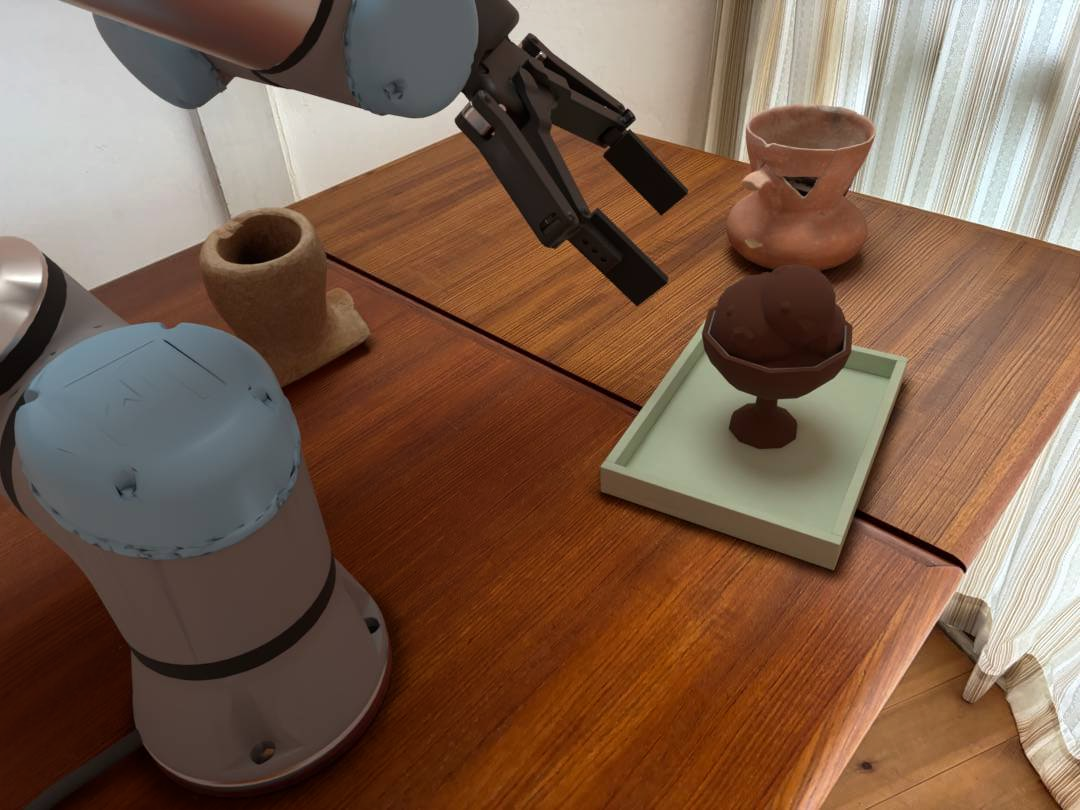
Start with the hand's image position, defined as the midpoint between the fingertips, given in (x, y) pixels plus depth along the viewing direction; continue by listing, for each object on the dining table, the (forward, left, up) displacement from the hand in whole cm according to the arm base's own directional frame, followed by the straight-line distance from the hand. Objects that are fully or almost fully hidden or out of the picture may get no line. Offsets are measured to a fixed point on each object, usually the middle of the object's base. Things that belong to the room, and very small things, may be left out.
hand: (665, 244), depth 60 cm
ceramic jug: (+34, -2, -17) cm, 38 cm away
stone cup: (-5, +34, -17) cm, 38 cm away
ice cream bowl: (+3, -8, -16) cm, 18 cm away
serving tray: (+3, -8, -17) cm, 19 cm away
